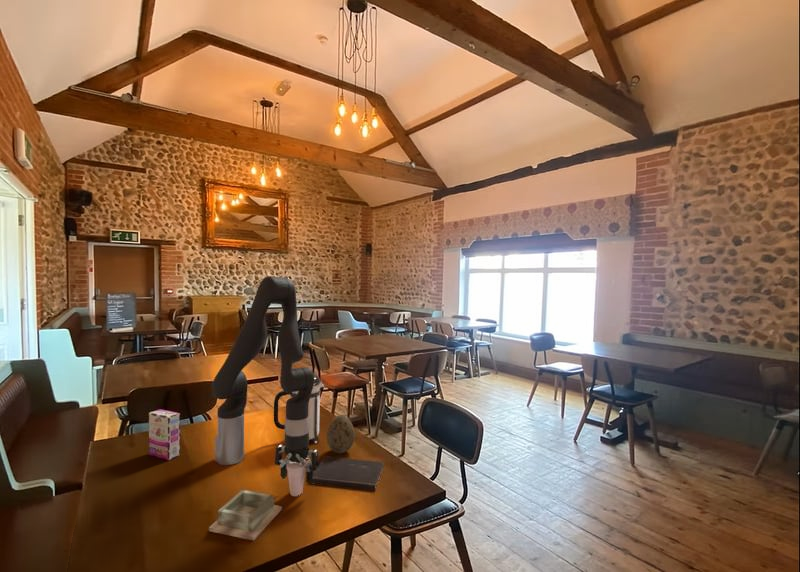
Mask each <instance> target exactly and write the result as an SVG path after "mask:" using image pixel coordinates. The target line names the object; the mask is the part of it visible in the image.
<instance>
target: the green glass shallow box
mask: <svg viewBox="0 0 800 572" xmlns="http://www.w3.org/2000/svg"><path fill="white" fill-rule="evenodd" d="M282 509H283V507H282V506H281V505H277V504H275V495H274V494H267V493H263V492H257V491H252V490H251V491H250V490H246V489H245V490H244V489H242V490H240V491H239V492H238V493H237V494H236V495H234V496H233V497H232V498H231V499H230V500H229V501H228V502H226V503H225V504H224V505H223V506H222V507H221V508H219V509H218V510H217V519H216V520H215V522H213V523H212V524H211V525H209V527H208V532H212V533H216V534H222V535H226V536H231V537H235V538H239V539H244V540H249V541H255V540H256V539H257V538H258V537H259V536H260V534H262V533H263V531H264V530H265V529H266V528H267V527H268V525H270V524H271V522H272V521H273V520H274V518H276V517H277V516H278V514H279V513H280V512H281V511H282Z"/></svg>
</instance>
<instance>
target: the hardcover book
mask: <svg viewBox="0 0 800 572" xmlns="http://www.w3.org/2000/svg"><path fill="white" fill-rule="evenodd" d="M385 463H386V462H383V461H376V460H367V459H365V460H364V459H355V458H346V457H336V456H326V455H325V456H324V457H323V458H322V460H321V461H320V463H319V467H318V468H317V469H316V470H315V471H313V478H312V480H311V481H310V482H309V483H315V484H314V485H318V484H322V485H321V486H329V487H334V488H335V487H336V488H344V489H345V488H346V489H353V490H354V489H355V490H363V491H371V492H376V488H377V486H376V485H378V483H379V481H378V480H380V477H381V476H382V473H383V470H384V466H385ZM380 475H381V476H380ZM309 483H308V484H309Z"/></svg>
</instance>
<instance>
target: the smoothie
mask: <svg viewBox="0 0 800 572" xmlns="http://www.w3.org/2000/svg"><path fill="white" fill-rule="evenodd" d="M304 461H306V460H305V459H304ZM286 465H287V467H286V469H287V477H288V484H289V485H288V486H289V491H290V492H289V493H290V495H291V496H292V497H299V496H301V495H302V494H303V490H304V489H303V488H304V483H305V477H306V469H305V467H303V466H302V464H301V463H296V462H291V461H290V460H289V461H288V463H287V464H286ZM301 493H302V494H301ZM300 494H301V495H300ZM298 495H299V496H298Z"/></svg>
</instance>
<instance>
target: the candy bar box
mask: <svg viewBox="0 0 800 572" xmlns="http://www.w3.org/2000/svg"><path fill="white" fill-rule="evenodd" d="M180 421H181V413H179V412H177V411H176V412H175V411H170V410H165V409H161V408H160V409H156V410H153V411H150V412H148V455H149V456H152V457H156V458H160V459H163V460H167V461H171V460H172V459H175V458H177V457H179V456H180V455H181V445H180V444H181V441H180V440H181V437H180V435H181V425H180V424H181V422H180Z"/></svg>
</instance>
